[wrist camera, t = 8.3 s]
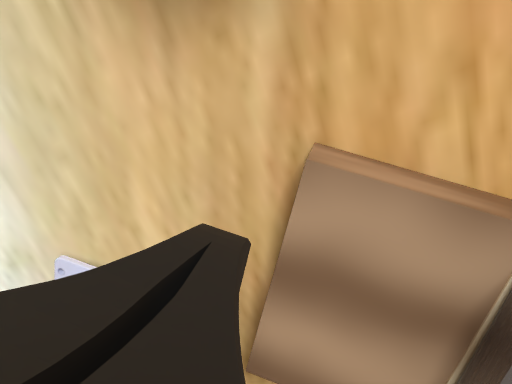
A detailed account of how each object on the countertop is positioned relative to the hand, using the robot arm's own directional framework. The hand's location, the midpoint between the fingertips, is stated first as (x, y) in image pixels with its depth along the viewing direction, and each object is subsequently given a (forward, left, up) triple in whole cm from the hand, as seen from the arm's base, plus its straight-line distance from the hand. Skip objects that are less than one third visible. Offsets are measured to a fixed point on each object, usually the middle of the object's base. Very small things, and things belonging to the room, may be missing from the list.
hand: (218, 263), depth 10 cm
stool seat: (-5, -7, -9) cm, 13 cm away
